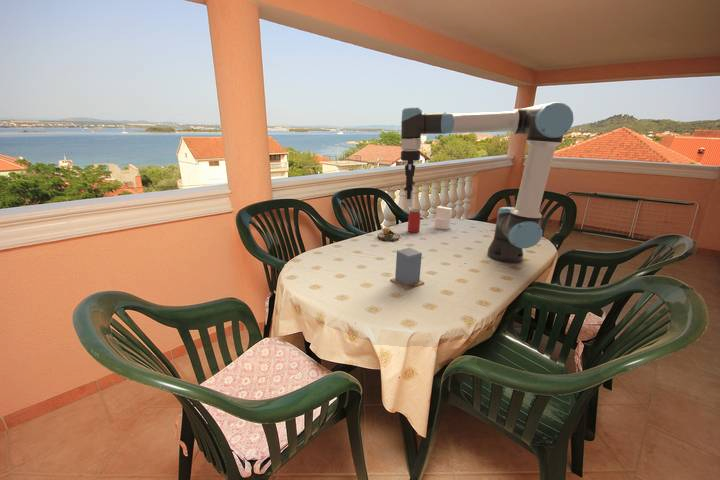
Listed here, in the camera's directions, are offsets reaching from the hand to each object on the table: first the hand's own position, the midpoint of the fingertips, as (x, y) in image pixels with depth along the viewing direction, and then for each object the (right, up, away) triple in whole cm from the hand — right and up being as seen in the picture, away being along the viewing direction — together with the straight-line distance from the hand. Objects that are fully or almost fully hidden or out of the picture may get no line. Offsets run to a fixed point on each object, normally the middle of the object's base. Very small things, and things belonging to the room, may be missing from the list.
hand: (409, 203), depth 132 cm
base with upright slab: (+29, -8, +59) cm, 66 cm away
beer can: (+10, -10, +50) cm, 52 cm away
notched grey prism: (-2, -31, -11) cm, 33 cm away
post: (-2, -31, -11) cm, 33 cm away
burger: (-5, -14, +38) cm, 41 cm away
